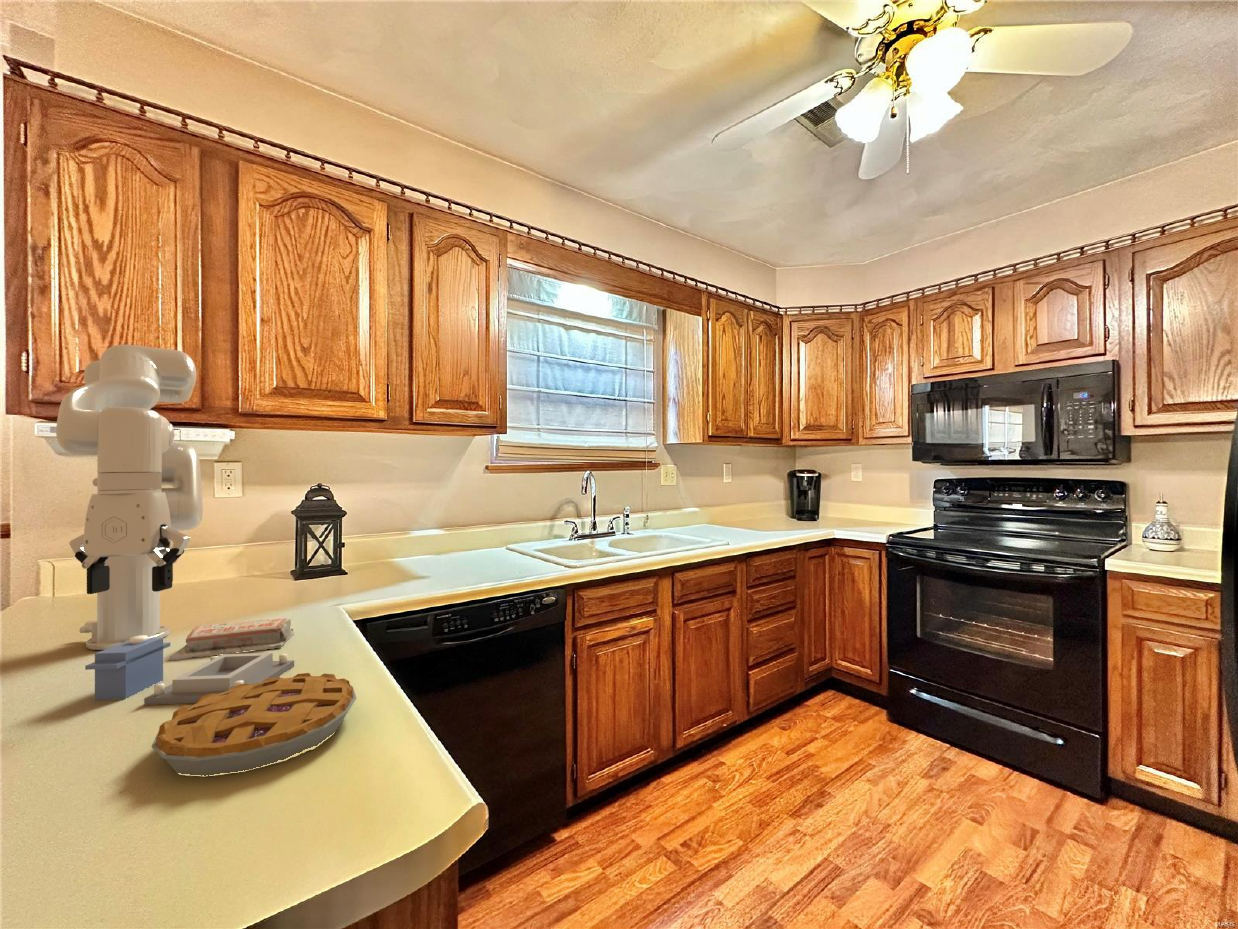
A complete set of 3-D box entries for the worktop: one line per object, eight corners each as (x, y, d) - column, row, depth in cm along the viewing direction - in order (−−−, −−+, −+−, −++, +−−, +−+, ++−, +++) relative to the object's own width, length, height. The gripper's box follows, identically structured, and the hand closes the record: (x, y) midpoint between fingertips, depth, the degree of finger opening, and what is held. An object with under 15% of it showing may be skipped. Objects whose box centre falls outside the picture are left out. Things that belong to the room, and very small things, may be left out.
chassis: (144, 705, 77) (144, 684, 77) (212, 668, 91) (212, 651, 91) (241, 701, 78) (241, 681, 78) (294, 666, 92) (294, 649, 92)
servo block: (85, 705, 77) (85, 651, 77) (142, 678, 87) (142, 631, 87) (116, 703, 77) (116, 650, 77) (170, 677, 87) (170, 630, 87)
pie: (114, 809, 53) (114, 760, 53) (191, 716, 73) (191, 681, 73) (350, 759, 62) (350, 718, 62) (361, 689, 82) (361, 658, 82)
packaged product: (295, 613, 110) (281, 626, 101) (295, 635, 110) (281, 651, 101) (193, 622, 104) (169, 637, 95) (193, 646, 104) (169, 663, 95)
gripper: (48, 486, 78) (48, 598, 78) (167, 483, 79) (168, 594, 79) (95, 485, 86) (95, 588, 85) (204, 482, 87) (204, 584, 86)
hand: (130, 591), depth 82 cm, fingers open, 9 cm apart
